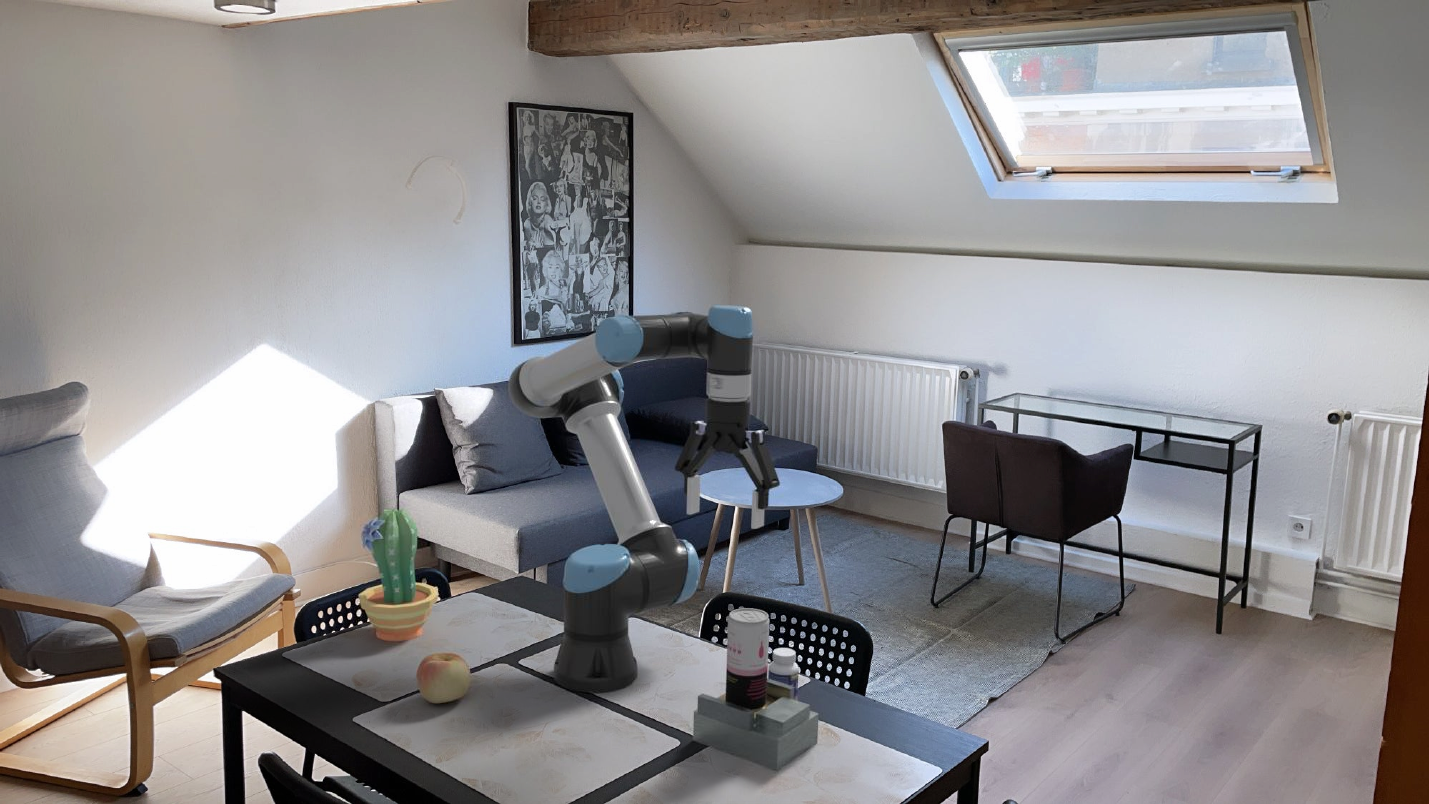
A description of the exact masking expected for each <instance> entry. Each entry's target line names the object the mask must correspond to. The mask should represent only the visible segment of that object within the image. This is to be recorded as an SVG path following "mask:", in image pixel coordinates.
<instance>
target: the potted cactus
mask: <svg viewBox="0 0 1429 804" xmlns="http://www.w3.org/2000/svg"><path fill="white" fill-rule="evenodd" d="M364 525H365V526H363V529H362V531H361V537H360V538H361V541H362V546H363V549H364V548H367V549H368V550H369V552H371V555H372V558H373V560H374V562H375V564H376V566H377V568H378V572H379V577H380V582H381V584H379V585H375V586H372V587H367V588H366V589H365V590H363V591H362V592H360V593H359V594H358V599H359V604H360V607H361V609H362V610H365V613H366V616H367V619H368V621H369V622H370V624H371V625H372V626H373V627H374V629H375V631H376V632H375V634H376V637H377V638H378V639H380V640H383V641H387V642H401V641H409V640H413V639H415V638H418V637H420V636H421V635H422V634H423V629H422V628H423V626H424V625H425V623H426V621H427V620H428V619H429V618H430V615H431V614H432V613H431V612H432V609H433V606H434V604H436V603H437V602H438V598H439V595H440V594H439V592H438V588H437V587H435V586H432V585H429V584H427V583H425V582H423V583H422V582H416V575H415V556H416V552H417V548H418V526H417V524H416V523H415V522H414V519H413V518H412V517H411V516H410V514H409V513H408V512H407V511H406V510H405V509H404V508H401V509H397V507H392V509H391V510H388V509H383V511H382V512H381V515H379V517H378V516H376V517H375V518H373V519H371V520H370V521H368V522H366V524H364Z"/></svg>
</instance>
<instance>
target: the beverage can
mask: <svg viewBox="0 0 1429 804" xmlns="http://www.w3.org/2000/svg"><path fill="white" fill-rule="evenodd" d="M769 637H770V618H769V614H768V612H766V611H764V610H763V609H762V610H761V609H759V608H758V609H757V608H749V607H748V608H746V607H743V608H738V609H733V610H732V611H730V612H729V615H728V617H727V641H726V643H727V645H726V646H727V647H726V648H727V649H726V672H725V673H726V674H725V693H726V699H725V701H727V702H730V703H733V704H736V705H738V706H741V707H744V708H747V709H750V710H753V711H757V710H759V709H761V708H762V707H763V706H765V704H766V694H767V678H768V670H769V664H768V663H769V645H770V644H769V640H770V638H769Z"/></svg>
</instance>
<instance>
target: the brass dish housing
mask: <svg viewBox="0 0 1429 804" xmlns="http://www.w3.org/2000/svg"><path fill="white" fill-rule="evenodd" d="M725 699H726V692H725V693H723V694H721V695H720V696H718V697H714V696H712V695H708V694H705V693H700V694H699V695H697V708H696V709H695V710H693V727H692V728H693V733H692V741H694V742H697V743H700V744H701V745H705V746H707V747H710V748H713V749H715V750H719V751H721V752H724V753H726V754H729V755H732V756H733V757H737V758H740V759H742V760H746V761H748V762H751V763H753V764H756V765H759V766H762V767H764V768H767V769H770V770H772V771H775V772H779V770H782V768H784V767H785V766H786V765H788V764H789V763H791V762H793V761H794V760H795V759H797V758H798V757H799V756H801V755H802V754H803V753H805V752H806V751H808V750H809V749H811V748H812V747H814V746H815V745H816V744H818V735H819V713H818V712H815V711H812V710H811V705H810V704H808V703H805V702H802V701H799V700H797V701H796V700H794V686H790V685H787V684H784V683H781V682H778V681H774V680H771V679H768V677H767V694H766V704H765V706H763V707H762V708H761V709H759V710H757V711H753V710H750V709H747V708H744V707H741V706H738V705H736V704H733V703H730V702H727V701H725Z"/></svg>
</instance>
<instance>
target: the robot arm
mask: <svg viewBox="0 0 1429 804" xmlns="http://www.w3.org/2000/svg"><path fill="white" fill-rule="evenodd" d="M753 318H754V317H753V311H752V310H751V308H749V307H747V306H741V305H713V306H711V307H710V308H709V309H708V315H706V314H700V313H699V314H698V313H694V312H691V311H675V312H671V313H669V314H656V315H655V314H651V315H646V314H644V315H624V314H623V315H622V314H621V315H617V316H610V317H606V318H603V319H602V320H601V321H600V322H599V325H598V326H597V327H596V330H595V332H594V333H592V334H590V335H588V336H586V337H584V338H581V339H580V340H578V341H576V342H574V343H572V344H569V345H568V346H565V347H564V348H561V349H559V350H558V351H555V352H553V353H552V354H550V355H547V356H534V357H532V358H529V359H527V360H525V361H523V362H522V363H520V364H518V365H517V366H516V367H515V368H514V369H513V370H512V372H511V374H510V377H509V379H508V385H507V389H508V394H509V398H510V400H511V402H512V404H513V405H514V407H516V409H518V411H520V412H522V413H523V414H525V415H527V416H529V417H532V418H538V419H546V418H547V419H549V418H562V420H563V423H564V425H565V428H566V430H567V431H568V432H570V433H572V434H575V435H576V436H577V438H578V440H579V443H580V446H581V447H582V448H581V449H582V450H583V452H584V456H585V457H586V460H587V463H588V465H589V468H590V469H591V474H592V476H593V477H594V481H595V483H596V485H597V487H598V490H599V492H600V496H601V498H602V500H603V503H604V505H605V508H606V509H607V513H608V515H609V518H610V520H611V523H612V525H613V528H614V530H615V533H616V535H617V538H618V542H617V544H614V543H605V544H603V545H602V544H594V545H590V546H585V547H582V548H580V549H578V550H576V551H575V552H572V553H571V554H570V555H569V556H568V558H567V560H566V561H565V565H564V574H563V578H562V585H563V637H562V640H561V643H560V646H559V649H558V651H557V654H556V655H557V656H556V658H555V661H554V663H553V679H554V681H555V682H556V683H557V685H559V686H561V687H562V688H565V689H568V690H571V691H576V692H580V693H582V692H583V693H607V692H611V691H612V692H613V691H617V690H620V689H623V688H626V687H628V686H630V685H631V684H633V683H634V682H635V681H636V680H637V678H638V662H637V659H636V657H635V655H634V652H633V651H634V650H633V647H632V644H631V640H630V636H629V617H630V616H632V615H635V614H639V613H645V612H647V611H652V610H657V609H661V608H665V607H672V606H675V605H676V604H679V603H682V602H685V601H687V600H689V599H690V598H691V597H692V596H693V595H694V593H695V592H696V589H698V584H699V578H700V575H701V571H700V570H701V569H700V566H701V565H700V561H699V557H698V556H699V555H698V554H697V551H696V548H695V547H694V545H693V544H692V543H690V542H688V540H686V539H683V538H678V539H677V537H676V535H675V532H674V530H673V528H672V526H671V525H668V524H666V523H664V522H661V520H660V517H659V515H658V513H657V510H656V507H655V505H654V503H653V500H652V498H651V495H650V493H649V491H648V489H647V486H646V484H645V481H644V479H643V477H642V474H641V471H640V470H639V467H638V465H637V462H636V460H635V457H634V455H633V453H632V450H631V448H630V446H629V443H628V441H627V438H626V436H625V434H624V430H623V429H622V426H621V424H620V421H619V420H618V417H619V415H620V413H621V410H622V408H621V407H622V406H621V405H622V403H623V400H624V397H625V396H624V394H625V391H624V390H623V388H624V382H623V378H622V376H621V375H622V374H621V372H620V371H619V370H620V369H623V368H624V367H628V366H630V365H632V364H634V363H637V362H641V361H649V360H665V359H677V358H678V359H679V358H681V359H682V358H697V359H704V360H707V361H706V363H707V366H706V396H708V398H707V399H706V400H705V420H706V422H705V421H704V420H697V421H693V422H691V423H690V430H689V435H688V437H687V439H686V442H685V443H684V446H683V449H682V450H681V453H680V454H679V456H678V459H677V461H676V463H675V466H674V470H675V471H676V472H680V473H681V474H682V475H683V476H684V479H683V480H684V481H683V482H684V483H683V485H684V487H683V491H684V494H685V495H686V515H690V516H691V515H693V514H696V513H699V512H700V502H701V501H700V500H701V498H700V497H701V475H698V474H699V471H700V469H701V468H702V467H703V466H704V465H705V464H706V462H707V461H708V459H709V458H710V457H711V456H713V453H714V452H715V451H716V453H718V452H719V453H721V452H724V453H726V454H730V455H731V454H734V456H735V458H737V459H738V460H739V462H740V463H741V465H742V467H743V468H744V470H745V471H746V474H747V475H748V476H749V479H750V480H751V481H752V482H753V484H754V486H755V488H756V489H752V493H751V495H752V497H751V500H752V501H751V523H750V525H751V526H750V527H751V529H752V530H753V529H754V530H755V529H760V528H761V527H764V526H765V510H766V509H768V507H769V501H770V498H769V497H770V494H769V493H770V490H771V489H774V488H778V487H780V485H781V482H780V479H779V477H778V476H779V475H778V474H777V471H776V468H775V465H774V463H773V460H772V458H771V457H772V456H771V455H770V451H769V448H768V447H767V443H766V433H765V430H764V429H759V430H750V428H749V423H750V419H751V401H750V399H749V397H751V395H752V366H753V365H752V363H753V358H752V357H753V343H754V342H753V340H754V338H753V337H754V332H755V331H754V321H753ZM705 434H706V436H707V440H706V441H705V442H704V443H703V445H701V449H700V450H699V451H698V452H697V450H698V447H699V446H700V443H702V439H703V437H704V435H705ZM749 443H750V444H751V446H750V445H749ZM752 451H753V452H752ZM696 452H697V454H696ZM695 454H696V455H695Z"/></svg>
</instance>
